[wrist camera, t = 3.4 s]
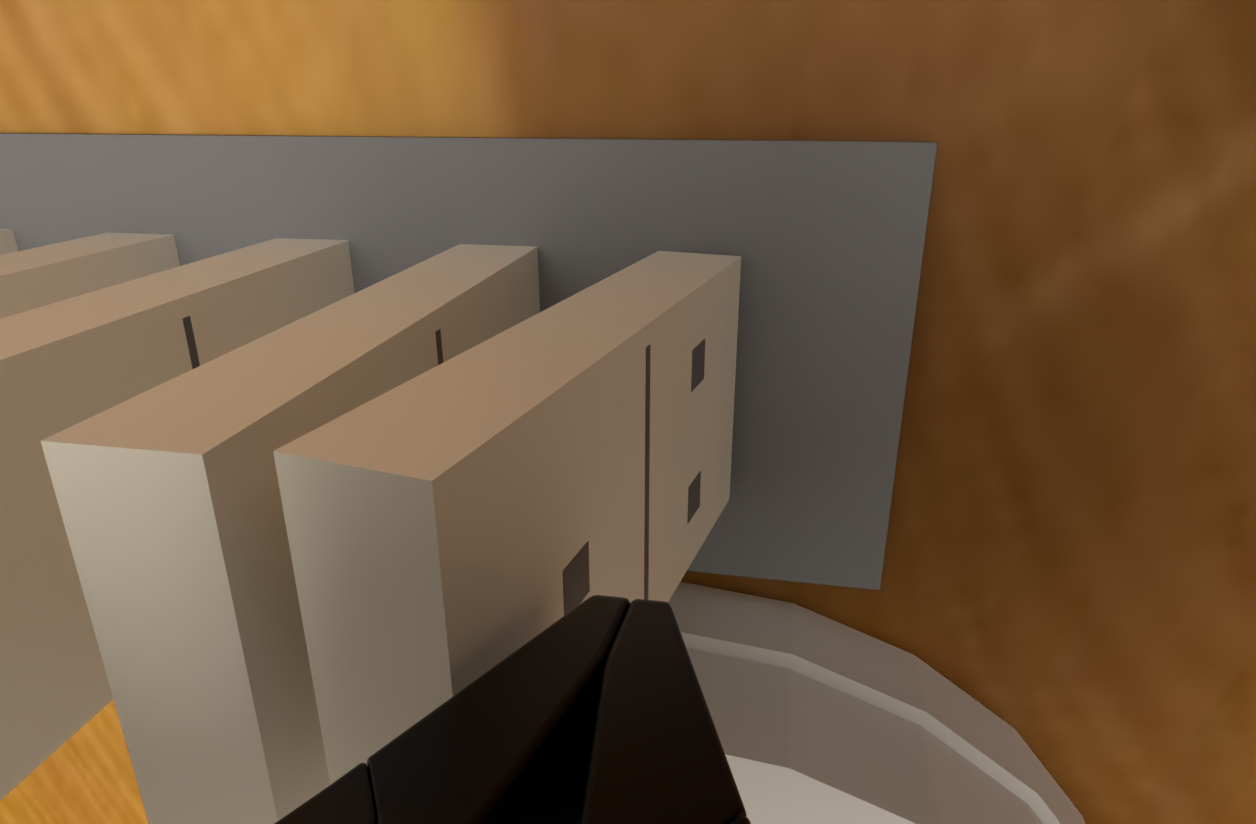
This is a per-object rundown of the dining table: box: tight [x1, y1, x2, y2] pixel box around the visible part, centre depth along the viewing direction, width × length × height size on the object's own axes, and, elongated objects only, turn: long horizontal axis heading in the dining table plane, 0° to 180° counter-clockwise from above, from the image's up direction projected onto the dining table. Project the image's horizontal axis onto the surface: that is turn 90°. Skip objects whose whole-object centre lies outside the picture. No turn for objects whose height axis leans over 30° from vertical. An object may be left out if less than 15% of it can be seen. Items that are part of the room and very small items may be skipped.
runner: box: [0, 133, 937, 590], centre depth 18 cm, size 21×9×1 cm, turn 89°
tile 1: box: [273, 251, 741, 784], centre depth 12 cm, size 2×5×10 cm, turn 179°
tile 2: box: [41, 244, 540, 824], centre depth 13 cm, size 2×5×10 cm, turn 0°
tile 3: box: [0, 238, 355, 800], centre depth 13 cm, size 2×5×10 cm, turn 179°
